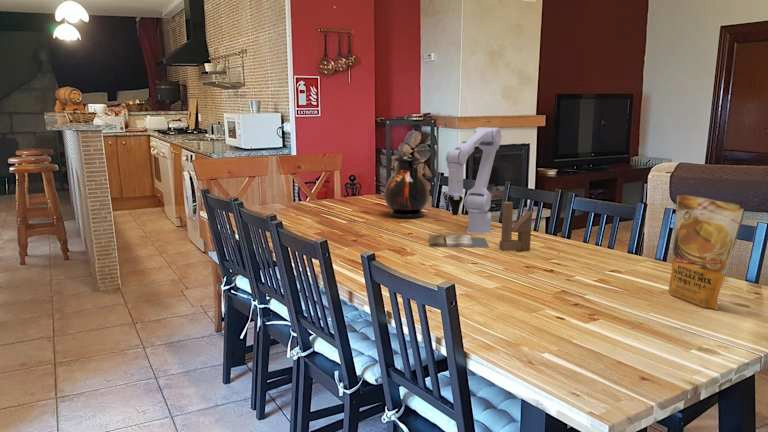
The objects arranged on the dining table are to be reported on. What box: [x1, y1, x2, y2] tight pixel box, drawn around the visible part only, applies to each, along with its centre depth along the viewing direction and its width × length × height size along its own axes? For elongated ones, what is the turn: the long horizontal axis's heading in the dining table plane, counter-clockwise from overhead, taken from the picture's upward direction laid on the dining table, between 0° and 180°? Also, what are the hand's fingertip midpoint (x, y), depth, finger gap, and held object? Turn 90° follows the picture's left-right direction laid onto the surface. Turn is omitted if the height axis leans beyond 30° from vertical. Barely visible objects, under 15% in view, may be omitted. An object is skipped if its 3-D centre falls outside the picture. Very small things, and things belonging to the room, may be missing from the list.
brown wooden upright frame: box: [498, 201, 533, 252], centre depth 210 cm, size 4×11×18 cm, turn 104°
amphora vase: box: [384, 156, 430, 219], centre depth 275 cm, size 22×22×28 cm
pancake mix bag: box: [667, 194, 745, 311], centre depth 154 cm, size 7×19×28 cm, turn 19°
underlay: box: [429, 237, 490, 249], centre depth 221 cm, size 22×16×1 cm
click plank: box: [444, 234, 473, 248], centre depth 221 cm, size 10×14×1 cm
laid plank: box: [428, 234, 446, 247], centre depth 222 cm, size 6×14×1 cm, turn 176°
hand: (455, 215), depth 226 cm, fingers closed
